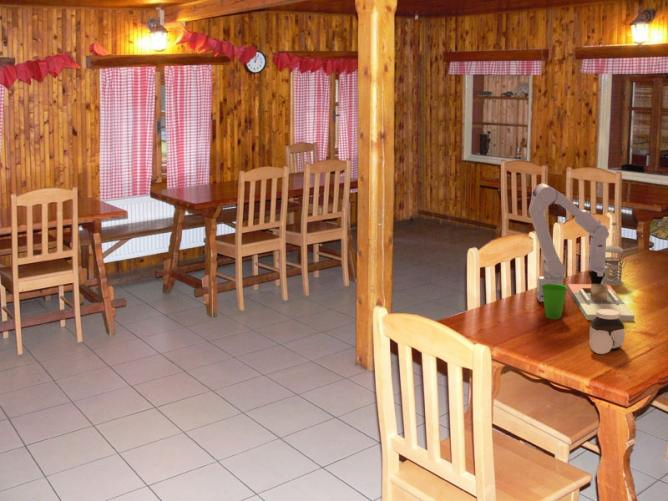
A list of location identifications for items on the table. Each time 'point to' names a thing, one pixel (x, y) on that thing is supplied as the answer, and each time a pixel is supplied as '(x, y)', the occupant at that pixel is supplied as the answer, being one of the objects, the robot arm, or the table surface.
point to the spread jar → (606, 331)
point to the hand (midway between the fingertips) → (595, 290)
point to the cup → (554, 299)
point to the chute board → (598, 302)
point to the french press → (613, 265)
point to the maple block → (599, 292)
